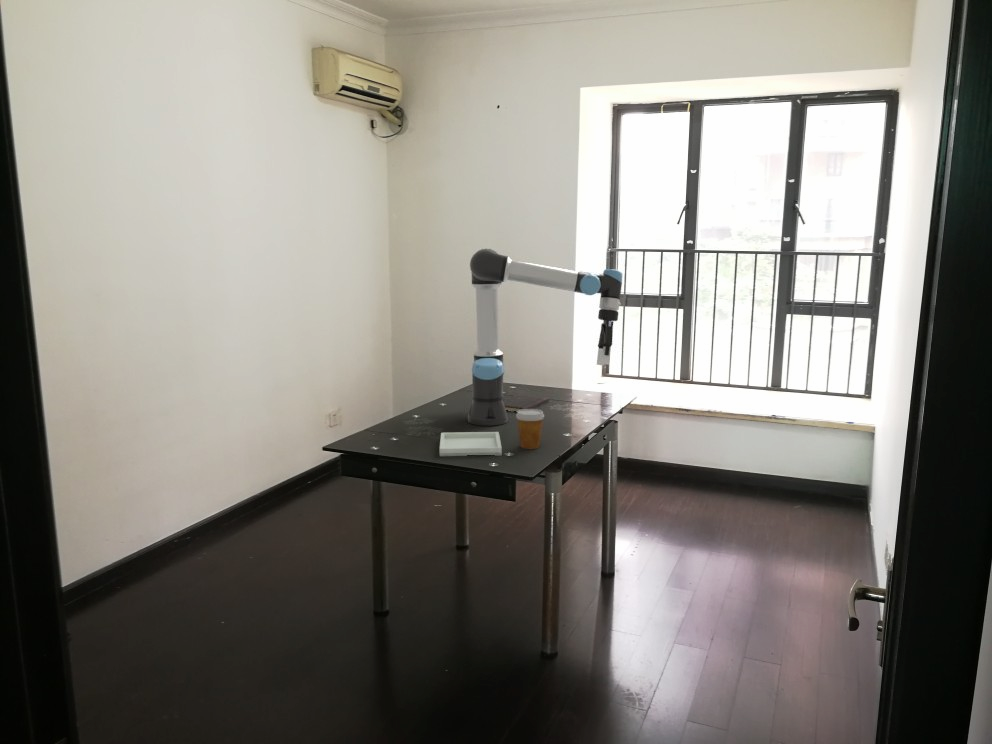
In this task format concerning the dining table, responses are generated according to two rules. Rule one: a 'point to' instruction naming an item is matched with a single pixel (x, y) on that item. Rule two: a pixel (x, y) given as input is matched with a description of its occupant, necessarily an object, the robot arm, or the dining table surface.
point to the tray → (470, 443)
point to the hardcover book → (523, 402)
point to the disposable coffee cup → (530, 427)
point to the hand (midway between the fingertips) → (602, 364)
